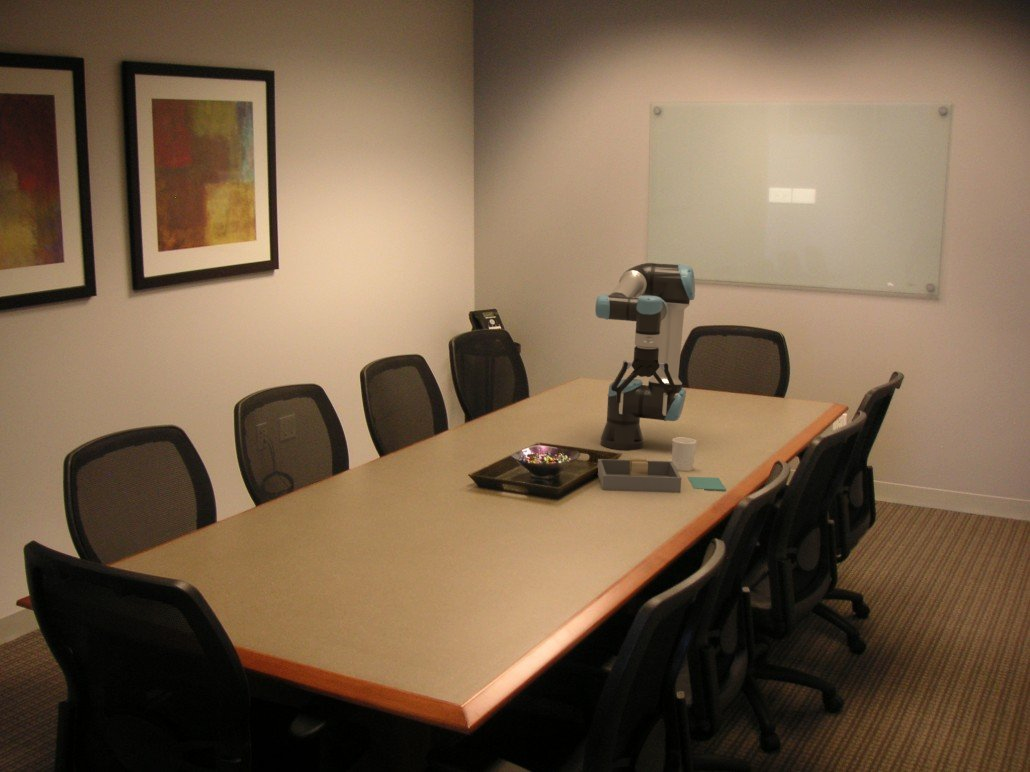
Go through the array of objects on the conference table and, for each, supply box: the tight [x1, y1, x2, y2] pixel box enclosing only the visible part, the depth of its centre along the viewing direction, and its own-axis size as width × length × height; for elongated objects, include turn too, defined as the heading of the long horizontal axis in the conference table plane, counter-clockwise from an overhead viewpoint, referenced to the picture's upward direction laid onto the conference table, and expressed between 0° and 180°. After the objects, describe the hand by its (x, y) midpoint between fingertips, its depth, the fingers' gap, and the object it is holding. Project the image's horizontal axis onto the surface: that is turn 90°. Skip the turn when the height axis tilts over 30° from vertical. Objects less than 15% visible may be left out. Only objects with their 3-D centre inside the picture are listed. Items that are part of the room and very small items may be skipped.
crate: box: [597, 458, 682, 493], centre depth 346 cm, size 18×24×5 cm
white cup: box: [671, 436, 697, 472], centre depth 362 cm, size 8×8×10 cm
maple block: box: [629, 457, 648, 476], centre depth 346 cm, size 5×5×7 cm
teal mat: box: [687, 476, 727, 492], centre depth 348 cm, size 12×10×1 cm
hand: (642, 413), depth 341 cm, fingers open, 13 cm apart
